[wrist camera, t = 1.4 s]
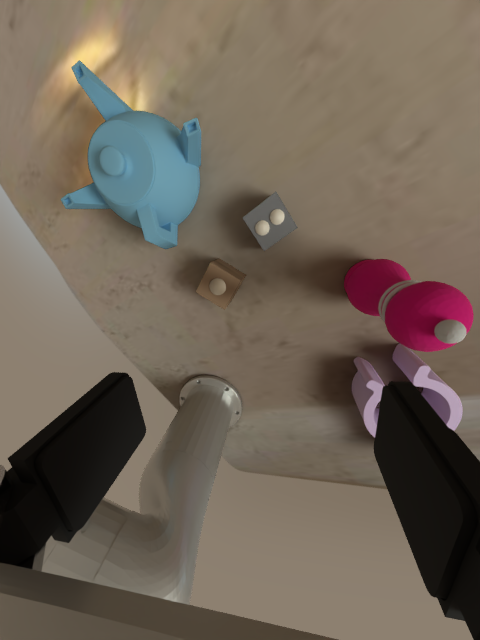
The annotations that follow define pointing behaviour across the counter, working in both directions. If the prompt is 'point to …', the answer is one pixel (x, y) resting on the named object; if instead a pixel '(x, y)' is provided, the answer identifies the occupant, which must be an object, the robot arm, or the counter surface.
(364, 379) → the clip
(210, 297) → the walnut block
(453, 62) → the counter surface
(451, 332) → the pepper mill
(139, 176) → the teapot
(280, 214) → the charcoal block
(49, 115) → the counter surface
